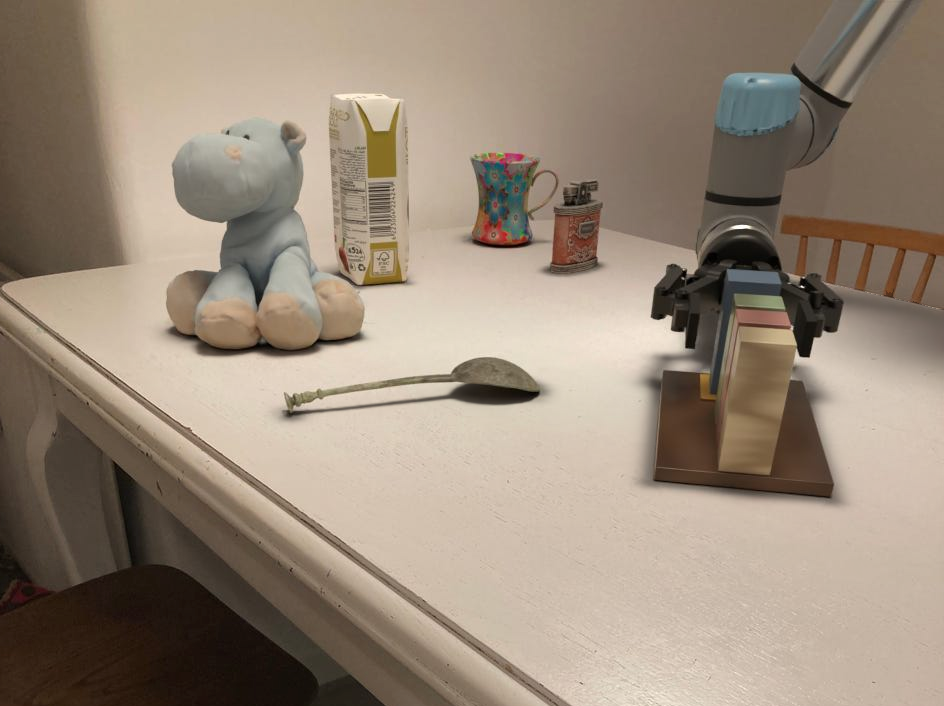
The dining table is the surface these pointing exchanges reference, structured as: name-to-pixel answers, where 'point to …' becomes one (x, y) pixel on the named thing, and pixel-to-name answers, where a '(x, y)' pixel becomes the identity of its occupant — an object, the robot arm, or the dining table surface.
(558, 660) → the dining table surface
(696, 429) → the block row
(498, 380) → the soupspoon
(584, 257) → the lighter
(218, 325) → the hippo plush
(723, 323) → the blue block
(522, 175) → the mug
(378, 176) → the juice carton
